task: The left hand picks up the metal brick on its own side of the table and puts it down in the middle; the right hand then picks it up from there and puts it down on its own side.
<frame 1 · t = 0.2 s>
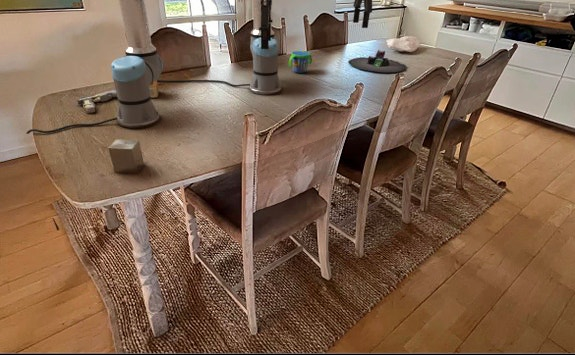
left hand: (266, 44, 139), 28 cm above the table, tool pointing down, fingers open, 13 cm apart
right hand: (360, 25, 182), 28 cm above the table, tool pointing down, fingers open, 13 cm apart
brick: (129, 167, 113), on the table
candy box: (153, 94, 167), on the table
handgun: (101, 103, 156), on the table
dark round tray: (376, 65, 223), on the table
snack cup: (299, 71, 206), on the table
crumpled cloth: (401, 50, 259), on the table
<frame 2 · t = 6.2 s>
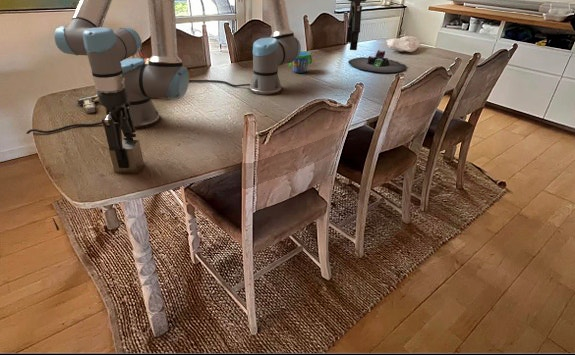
left hand: (128, 161, 112), 2 cm above the table, tool pointing down, fingers closed on brick, 6 cm apart
right hand: (351, 46, 154), 25 cm above the table, tool pointing down, fingers open, 13 cm apart
brick: (129, 167, 113), on the table, touching left hand
everything else where it was.
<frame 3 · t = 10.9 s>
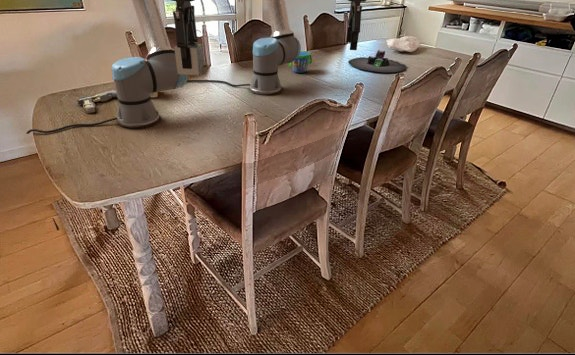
left hand: (190, 65, 118), 26 cm above the table, tool pointing down, fingers closed on brick, 6 cm apart
right hand: (351, 46, 154), 25 cm above the table, tool pointing down, fingers open, 13 cm apart
brick: (190, 72, 119), point 24 cm above the table, touching left hand
everything else where it was.
when the left hand's fingers open (3 cm above the table, at t = 15.9 s): brick drops 1 cm, on the table.
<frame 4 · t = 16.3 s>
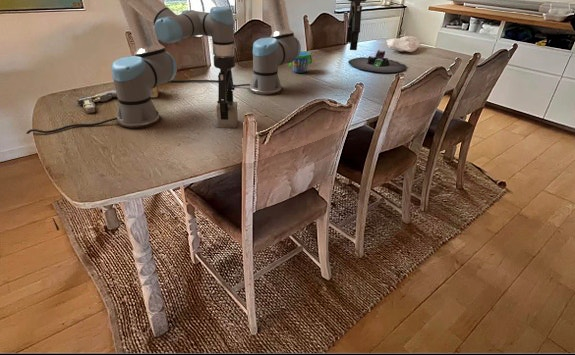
left hand: (227, 112, 140), 5 cm above the table, tool pointing down, fingers open, 12 cm apart
right hand: (351, 46, 154), 25 cm above the table, tool pointing down, fingers open, 13 cm apart
brick: (228, 124, 143), on the table
everything else where it was.
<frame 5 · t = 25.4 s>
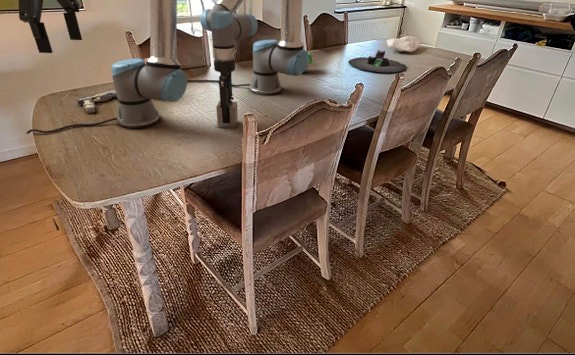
left hand: (62, 45, 90), 37 cm above the table, tool pointing down, fingers open, 13 cm apart
right hand: (227, 119, 142), 2 cm above the table, tool pointing down, fingers closed on brick, 6 cm apart
brick: (228, 124, 143), on the table, touching right hand
everything else where it was.
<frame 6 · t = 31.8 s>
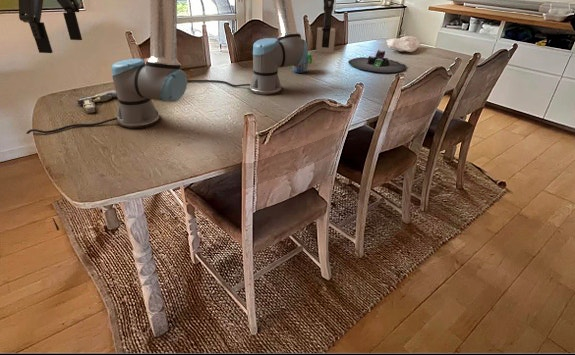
left hand: (62, 45, 90), 37 cm above the table, tool pointing down, fingers open, 13 cm apart
right hand: (325, 45, 148), 26 cm above the table, tool pointing down, fingers closed on brick, 6 cm apart
brick: (324, 50, 149), point 24 cm above the table, touching right hand
everything else where it was.
when the right hand's fingers open (3 cm above the table, at t = 38.2 s): brick drops 1 cm, on the table.
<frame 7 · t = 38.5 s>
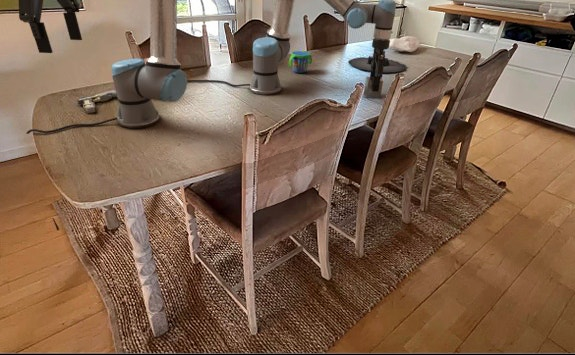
left hand: (62, 45, 90), 37 cm above the table, tool pointing down, fingers open, 13 cm apart
right hand: (373, 87, 174), 4 cm above the table, tool pointing down, fingers open, 9 cm apart
brick: (371, 95, 176), on the table
everything else where it was.
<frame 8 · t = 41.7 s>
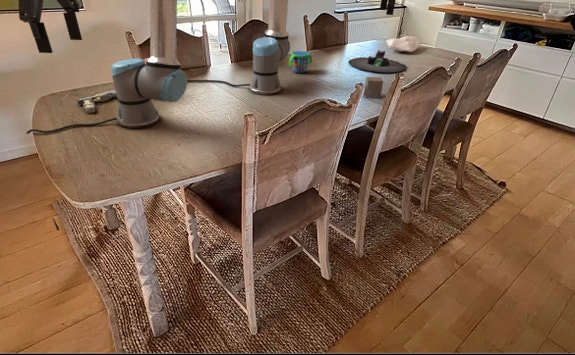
left hand: (62, 45, 90), 37 cm above the table, tool pointing down, fingers open, 13 cm apart
right hand: (386, 12, 156), 37 cm above the table, tool pointing down, fingers open, 13 cm apart
nothing on the table moved.
at the end: brick inside the target area (0.1 cm from its centre), on the table; brick tilted 0°; the two hands never held the brick at the same time; the left hand is holding nothing; the right hand is holding nothing; brick at rest at the end (0.0 cm/s) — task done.
